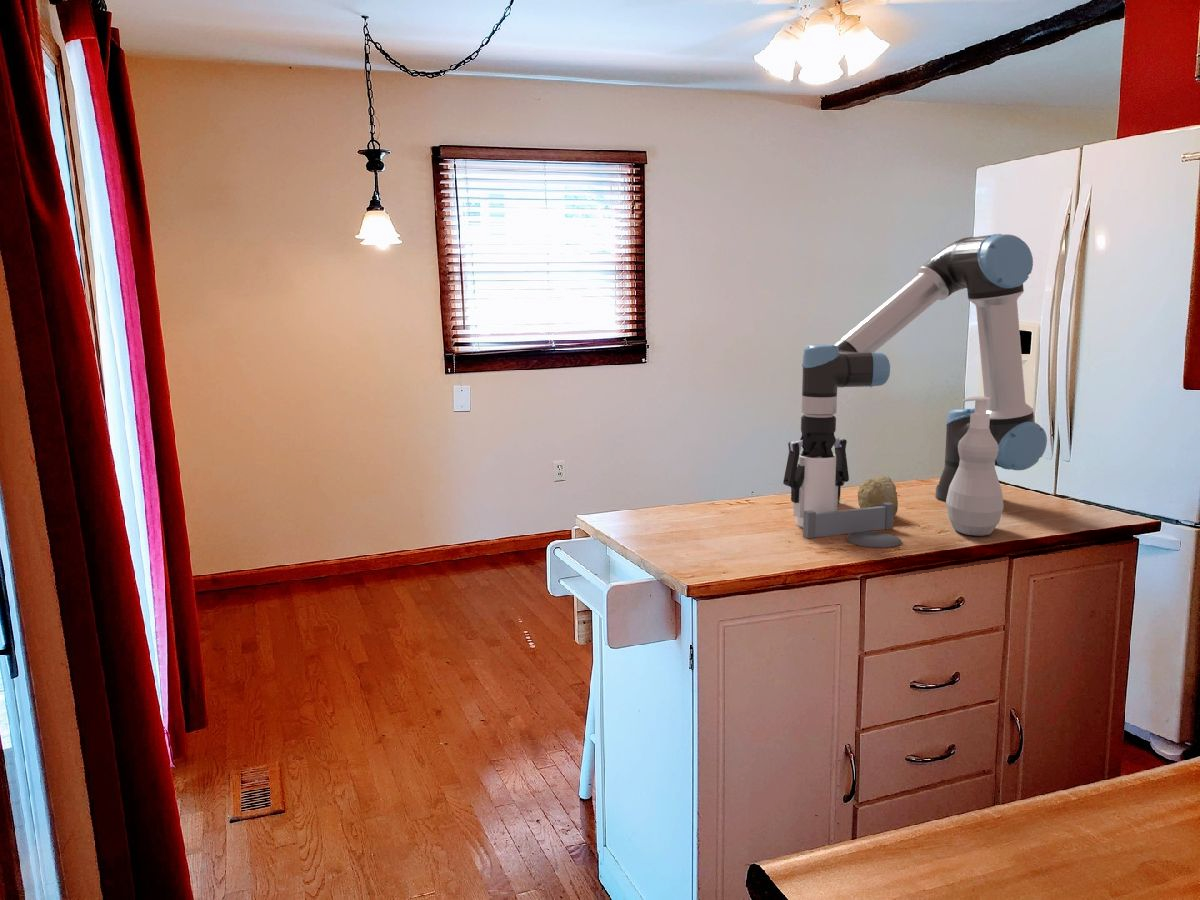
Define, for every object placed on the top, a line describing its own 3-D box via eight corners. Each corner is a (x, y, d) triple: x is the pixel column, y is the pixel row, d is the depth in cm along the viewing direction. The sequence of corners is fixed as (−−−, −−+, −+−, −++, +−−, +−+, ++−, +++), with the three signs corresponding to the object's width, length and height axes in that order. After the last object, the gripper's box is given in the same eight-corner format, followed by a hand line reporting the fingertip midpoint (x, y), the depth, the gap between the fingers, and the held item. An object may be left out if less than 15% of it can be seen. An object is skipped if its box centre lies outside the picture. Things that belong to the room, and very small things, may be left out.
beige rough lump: (915, 491, 203) (876, 474, 202) (894, 530, 206) (855, 513, 205) (902, 479, 212) (865, 463, 212) (882, 516, 215) (845, 500, 214)
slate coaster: (879, 531, 195) (879, 530, 195) (912, 544, 185) (912, 542, 185) (836, 536, 191) (836, 534, 191) (868, 550, 181) (868, 548, 181)
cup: (819, 531, 196) (821, 459, 193) (788, 524, 202) (790, 454, 199) (840, 524, 201) (843, 455, 199) (810, 518, 207) (812, 450, 205)
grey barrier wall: (887, 526, 199) (888, 502, 198) (892, 528, 198) (893, 504, 197) (803, 536, 192) (803, 511, 191) (807, 538, 190) (808, 512, 189)
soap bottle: (941, 520, 205) (948, 392, 200) (995, 523, 202) (1004, 393, 197) (947, 539, 189) (956, 401, 184) (1007, 543, 186) (1017, 402, 181)
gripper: (848, 410, 204) (844, 507, 208) (768, 415, 197) (765, 515, 201) (869, 414, 197) (864, 514, 201) (786, 419, 190) (783, 522, 194)
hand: (815, 514), depth 201 cm, fingers closed on cup, 8 cm apart
